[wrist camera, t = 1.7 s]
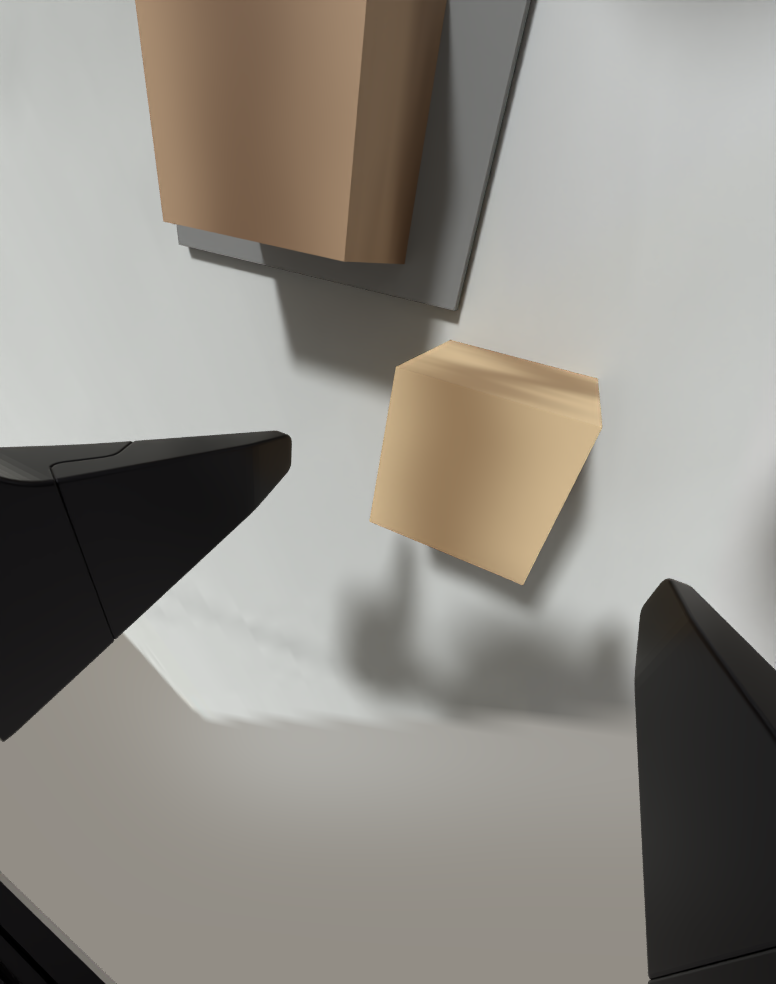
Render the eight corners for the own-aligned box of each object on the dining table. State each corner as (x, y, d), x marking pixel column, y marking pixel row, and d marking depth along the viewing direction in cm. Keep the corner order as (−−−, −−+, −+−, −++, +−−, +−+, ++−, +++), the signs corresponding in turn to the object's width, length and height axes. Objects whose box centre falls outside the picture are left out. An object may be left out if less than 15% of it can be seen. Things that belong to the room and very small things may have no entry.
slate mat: (587, -234, 8) (586, -255, 7) (457, 309, 13) (454, 310, 13) (143, -173, 11) (130, -186, 11) (186, 245, 16) (178, 244, 16)
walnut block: (449, -15, 10) (380, -158, 6) (404, 263, 13) (344, 261, 10) (252, -16, 11) (118, -131, 8) (257, 232, 14) (163, 221, 11)
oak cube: (597, 378, 13) (601, 427, 9) (539, 503, 15) (522, 585, 11) (451, 339, 14) (395, 366, 10) (421, 461, 17) (369, 521, 13)
